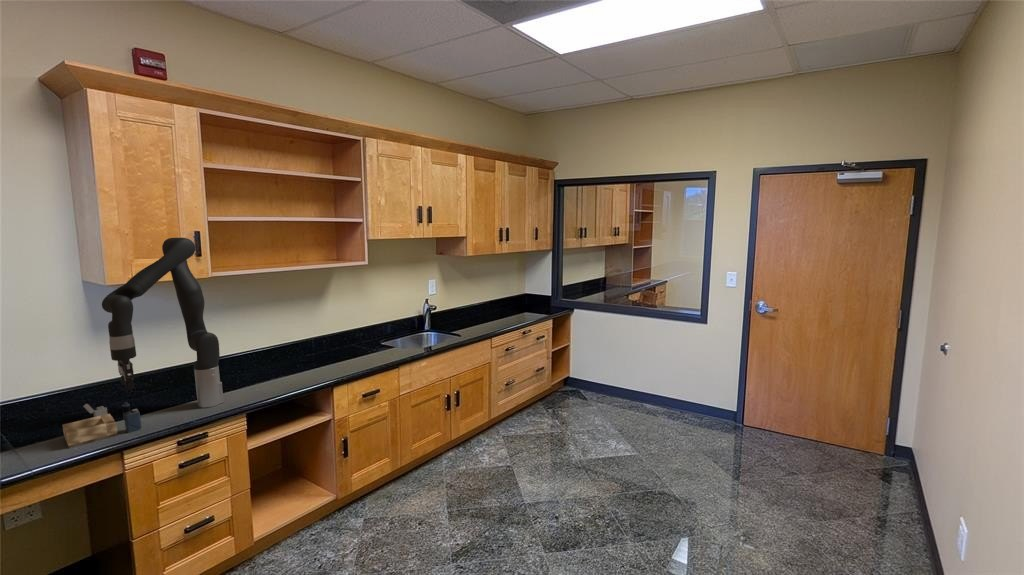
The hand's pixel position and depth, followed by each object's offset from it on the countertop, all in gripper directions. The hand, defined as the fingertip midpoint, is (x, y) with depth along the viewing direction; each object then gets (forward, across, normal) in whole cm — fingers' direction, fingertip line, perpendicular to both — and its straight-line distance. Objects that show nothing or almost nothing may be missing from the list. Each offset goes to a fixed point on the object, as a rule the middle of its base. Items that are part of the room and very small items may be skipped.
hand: (127, 386), depth 186 cm
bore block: (+18, +6, +12) cm, 22 cm away
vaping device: (+18, 0, 0) cm, 18 cm away
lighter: (+18, +24, +8) cm, 31 cm away
